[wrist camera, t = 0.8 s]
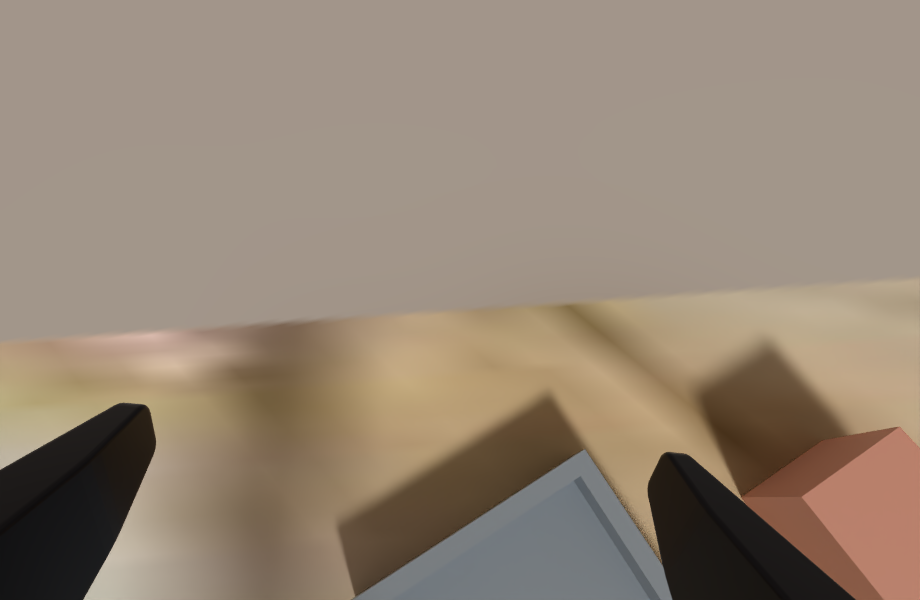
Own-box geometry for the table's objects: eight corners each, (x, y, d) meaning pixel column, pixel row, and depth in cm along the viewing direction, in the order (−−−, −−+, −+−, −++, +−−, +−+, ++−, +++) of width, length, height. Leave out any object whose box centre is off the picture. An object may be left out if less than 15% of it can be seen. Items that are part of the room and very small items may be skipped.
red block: (905, 539, 23) (1012, 550, 18) (820, 603, 22) (909, 631, 17) (821, 440, 24) (899, 426, 20) (740, 497, 24) (801, 496, 19)
